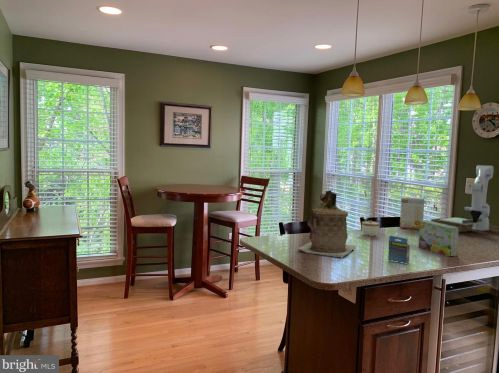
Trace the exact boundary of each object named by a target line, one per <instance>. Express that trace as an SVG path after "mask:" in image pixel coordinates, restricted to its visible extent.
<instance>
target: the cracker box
mask: <svg viewBox="0 0 499 373" xmlns="http://www.w3.org/2000/svg"><path fill="white" fill-rule="evenodd" d="M424 211H425V198H418V197H406V196H405V197H404V196H403V197H401V201H400V219H399V228H401V229H408V230H409V229H411V230H416V231H417V230H418V231H419V227H420V221H421V220H424V214H425V212H424Z"/></svg>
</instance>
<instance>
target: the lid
mask: <svg viewBox="0 0 499 373" xmlns="http://www.w3.org/2000/svg"><path fill="white" fill-rule="evenodd" d="M445 218H446V219H440V220H441V221H446V222H452V223H457V224H462V225H469V224H472V225H474V224H477V223H482V219H480V218H479V219H478V222H477V223H474V222H473V218H471V219H470V218H469V219H467V218H461V217H445Z"/></svg>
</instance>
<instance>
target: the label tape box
mask: <svg viewBox="0 0 499 373" xmlns="http://www.w3.org/2000/svg"><path fill="white" fill-rule="evenodd" d="M408 240H409V239H408V238H405V237H399V236H393V235H389V238H388V251H387V252H388V255H387V256H388V257H387V261H388V260H393V261H398V262H403V263H408V262H409V263H410V253H411V252H410V251H411V250H410V248H411V245H409V244H408ZM409 263H408V264H409Z"/></svg>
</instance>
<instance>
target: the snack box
mask: <svg viewBox="0 0 499 373" xmlns="http://www.w3.org/2000/svg"><path fill="white" fill-rule="evenodd" d="M458 230H459V228H458V227H454V226H450V225H446V224H441V223H437V222H433V221H431V220H427V219H423V220H421V221H420V227H419V230H418V231H419V232H418V248H420V247H422V248H421V249H423V248H425V249H424V250H426V249H428V250H427V251H429V250H431V251H430V252H432V251H434V252H433V253H435V252H437V253H436V254H438V253H440V254H439V255H442V254H443V255H442V256H445V255H447V256H446V257H448V256H454V257H457V256H458V246H459V245H458V244H459V243H458V242H459V232H458Z"/></svg>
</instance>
